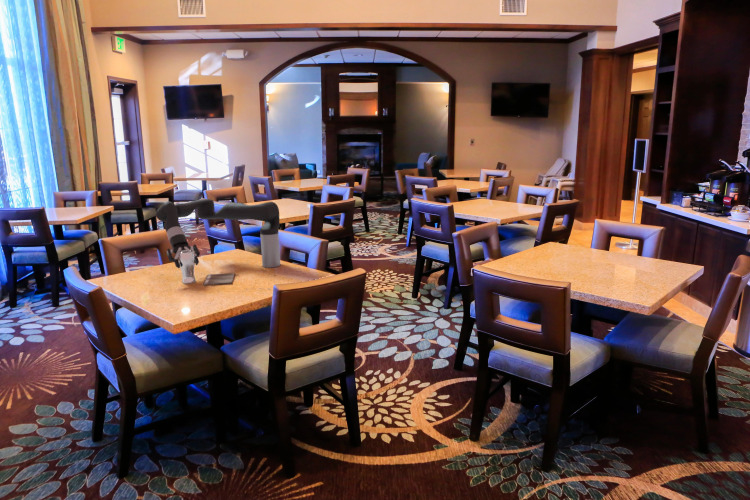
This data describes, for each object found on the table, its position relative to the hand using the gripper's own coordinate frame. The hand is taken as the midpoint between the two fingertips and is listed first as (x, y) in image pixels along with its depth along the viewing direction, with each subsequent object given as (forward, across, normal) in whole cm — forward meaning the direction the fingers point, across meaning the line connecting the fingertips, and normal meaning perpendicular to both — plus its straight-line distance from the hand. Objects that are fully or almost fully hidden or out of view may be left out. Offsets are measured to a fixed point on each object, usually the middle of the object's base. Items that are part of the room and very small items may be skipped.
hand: (188, 265), depth 254 cm
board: (+10, -12, -2) cm, 16 cm away
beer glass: (+5, 0, -7) cm, 8 cm away
